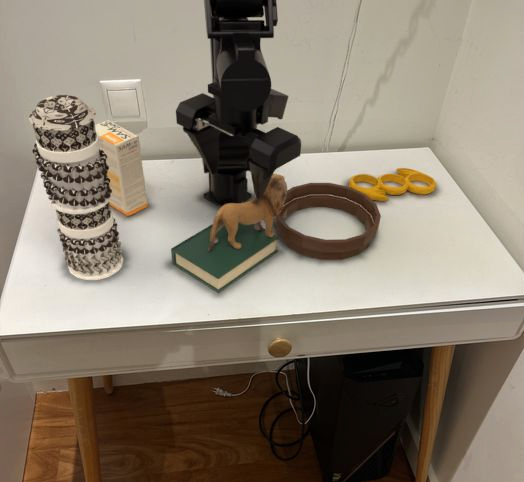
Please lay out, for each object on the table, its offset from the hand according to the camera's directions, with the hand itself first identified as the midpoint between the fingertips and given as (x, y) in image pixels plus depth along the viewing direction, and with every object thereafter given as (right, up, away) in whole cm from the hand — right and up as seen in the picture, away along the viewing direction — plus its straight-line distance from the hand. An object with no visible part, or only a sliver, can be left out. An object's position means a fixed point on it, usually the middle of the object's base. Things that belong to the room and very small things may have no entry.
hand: (236, 185), depth 83 cm
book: (-2, -10, +7) cm, 12 cm away
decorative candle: (-22, -11, +5) cm, 25 cm away
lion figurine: (+1, -6, +7) cm, 9 cm away
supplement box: (-21, +2, +17) cm, 27 cm away
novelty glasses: (+28, +6, +24) cm, 37 cm away
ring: (+14, -4, +13) cm, 20 cm away
